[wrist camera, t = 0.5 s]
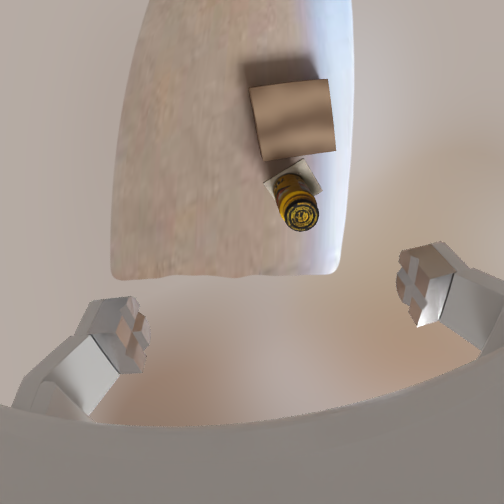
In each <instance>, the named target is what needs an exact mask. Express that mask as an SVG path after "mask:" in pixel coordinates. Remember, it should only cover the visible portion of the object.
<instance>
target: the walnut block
mask: <svg viewBox="0 0 504 504" xmlns="http://www.w3.org/2000/svg"><path fill="white" fill-rule="evenodd" d="M249 93H250V99H251V104H252V109H253V114H254V120H255V125H256V130H257V136H258V141H259V147H260V152H261V156H262V159H263V162H265V161H271V160H277V159H283V158H289V157H296V156H302V155H309V154H316V153H324V152H332V151H336V145H335V134H334V124H333V116H332V107H331V99H330V92H329V84H328V79H314V80H303V81H293V82H285V83H277V84H270V85H263V86H257V87H250V88H249Z"/></svg>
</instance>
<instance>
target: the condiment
mask: <svg viewBox="0 0 504 504" xmlns="http://www.w3.org/2000/svg"><path fill="white" fill-rule="evenodd" d="M297 173H298V174H297ZM263 184H264V185H265V186H266V188H267V189H268V191H269V192H270V194H271V195H272V196H273V198H274V199H275V201H276V203H277V206H278V209H279V213H280V214H281V217H282V218H283V220H284V221H285V223H286V224H287V225H288V227H290V228H291V229H293V230H295V231H299V232H301V231H307V230H309V229H311V228H312V227H314V226H315V225H316V223H317V221H318V217H319V211H318V208H317V202H316V200H315V198H314V196H315V195H317V194H319V193H320V192H322V189H321V187H320V185H319V184H318V182H317V180H316V179H315V177H314V175H313V173H312V172H311V170H310V168H309V167H308V165H307V163H306V162H305V160H304V159H302V160H301V161H299V162H297V163H296V164H294V165H293V166H291V167H289V168H287V169H286V170H284V171H282V172H281V173H279V174H277V175H276V176H274V177H272V178H271V179H269V180H268V181H266V182H265V183H263Z"/></svg>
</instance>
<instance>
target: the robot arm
mask: <svg viewBox="0 0 504 504" xmlns="http://www.w3.org/2000/svg"><path fill="white" fill-rule="evenodd" d="M399 263H400V264H401V266H402V268H401V269H400V270H399V272H398V273H397V278H396V287H397V292H398V295H399V297H400V299H401V301H402V302H403V303H405V304H407V305H408V306H410V307H409V314H410V316H411V317H412V319H413V320H414V322H415V324H416V325H417V327H418V326H422V325H426V324H429V323H433V322H436V321H439V320H440V322H441V323H442V324H444V325H445V326H447V327H448V328H450V329H451V330H453V331H454V332H455V333H457V334H458V335H460V336H461V337H463V338H464V339H466V340H467V341H468V342H470V343H471V344H473V345H474V346H475V347H477V348H478V349H480V350H481V352H480V354H479V356H478V358H477V359H476V360H474V361H472V362H470V363H468V364H465V365H463V366H461V367H459V368H456V369H454V370H452V371H449V372H447V373H444V374H442V375H439V376H437V377H434V378H432V379H429V380H426V381H424V382H421V383H418V384H415V385H413V386H410V387H407V388H404V389H401V390H398V391H395V392H392V393H389V394H385V395H382V396H378V397H375V398H372V399H368V400H365V401H361V402H357V403H353V404H349V405H345V406H341V407H336V408H332V409H328V410H323V411H318V412H313V413H308V414H302V415H297V416H291V417H285V418H279V419H271V420H264V421H256V422H247V423H237V424H226V425H211V426H185V427H156V426H130V425H115V424H104V423H96V422H95V421H94V420H93V419H91V418H90V417H89V415H90V414H91V412H92V411H93V410H94V408H95V407H96V406H97V404H98V403H99V402H100V400H101V399H102V398H103V397H104V395H105V394H106V393H107V391H108V390H109V389H110V387H111V386H112V385H113V384H114V382H115V381H116V380H117V378H118V377H119V376H120V375H119V374H132V373H143V370H144V365H145V361H146V357H147V356H146V354H145V353H144V350H145V349H146V348H147V347H148V346H149V344H150V339H151V333H150V327H149V323H148V321H147V319H146V317H145V316H144V315H142V314H141V313H139V312H138V311H139V307H140V305H139V303H138V302H137V300H136V298H135V297H132V296H128V297H119V298H110V299H101V300H94V301H92V302H90V303H89V305H88V308H87V309H86V311H85V313H84V315H83V317H82V319H81V321H80V323H79V325H78V328H77V330H76V332H75V334H74V336H70V337H69V338H68V339H66V340H65V341H64V342H63V343H62V344H60V345H59V346H58V347H57V348H56V349H55V350H54V351H52V352H51V353H50V354H49V355H48V356H47V357H46V358H45V359H44V360H42V361H41V362H40V363H39V364H38V365H37V366H36V367H35V368H34V369H33V370H31V371H30V372H29V373H28V374H27V375H26V376H25V377H24V378H23V380H22V382H21V384H20V387H19V389H18V392H17V394H16V397H15V399H14V401H13V404H12V406H11V407H8V406H4V405H0V504H504V281H503V280H501V279H499V278H496V277H494V276H492V275H489V274H487V273H485V272H482V271H480V270H478V269H475V268H471V269H470V268H469V267H468V266H467V265H466V264H465V263H464V262H463V261H462V260H461V259H460V258H459V257H458V256H457V255H456V254H455V252H453V250H452V249H451V248H450V247H449V246H448V245H447V244H446V243H444V242H441V241H439V242H435V243H431V244H428V245H425V246H420V247H415V248H411V249H406V250H402V251H401V253H400V255H399Z"/></svg>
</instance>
